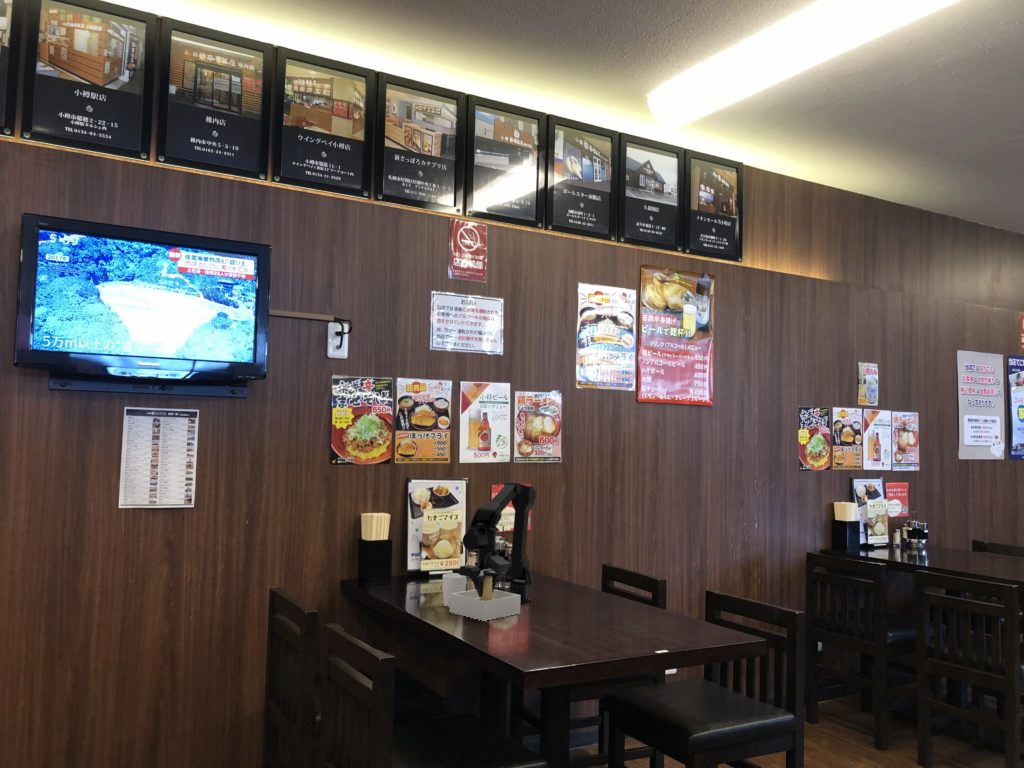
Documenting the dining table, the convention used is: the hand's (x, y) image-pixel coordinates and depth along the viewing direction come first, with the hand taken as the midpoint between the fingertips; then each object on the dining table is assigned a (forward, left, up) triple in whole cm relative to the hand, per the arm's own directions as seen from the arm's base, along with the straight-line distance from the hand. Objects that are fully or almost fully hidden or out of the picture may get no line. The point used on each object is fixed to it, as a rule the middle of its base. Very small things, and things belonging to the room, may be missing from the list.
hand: (485, 595), depth 258 cm
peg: (0, 0, -2) cm, 2 cm away
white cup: (0, -15, -6) cm, 16 cm away
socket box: (0, 0, -6) cm, 6 cm away
